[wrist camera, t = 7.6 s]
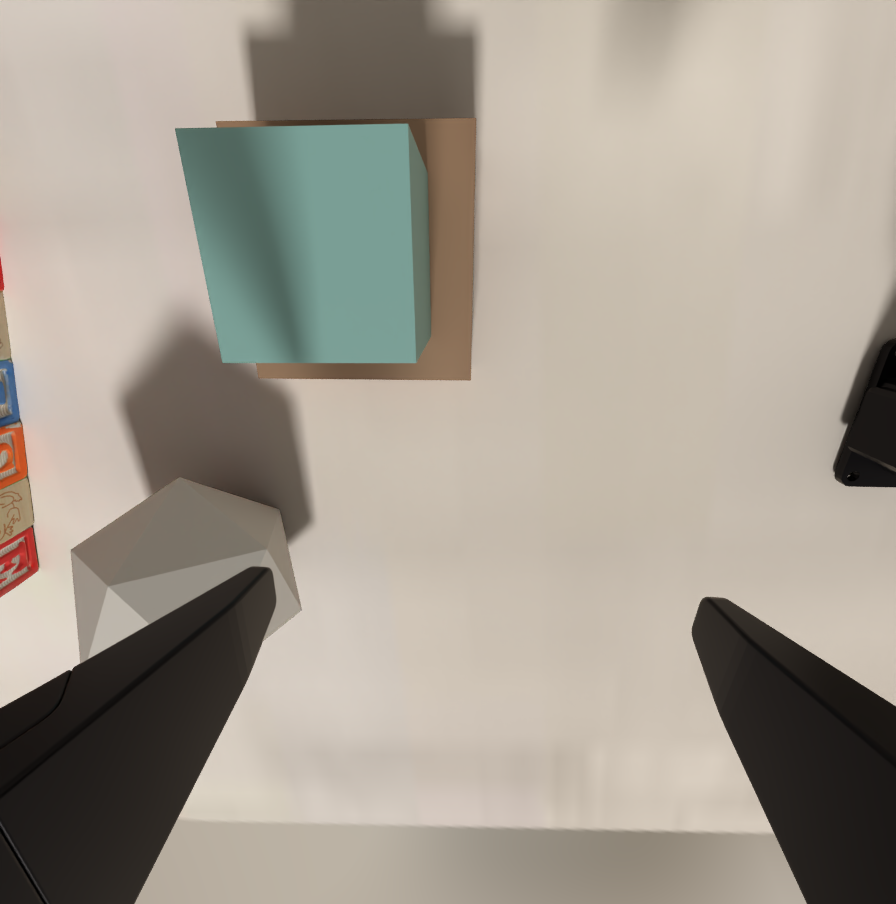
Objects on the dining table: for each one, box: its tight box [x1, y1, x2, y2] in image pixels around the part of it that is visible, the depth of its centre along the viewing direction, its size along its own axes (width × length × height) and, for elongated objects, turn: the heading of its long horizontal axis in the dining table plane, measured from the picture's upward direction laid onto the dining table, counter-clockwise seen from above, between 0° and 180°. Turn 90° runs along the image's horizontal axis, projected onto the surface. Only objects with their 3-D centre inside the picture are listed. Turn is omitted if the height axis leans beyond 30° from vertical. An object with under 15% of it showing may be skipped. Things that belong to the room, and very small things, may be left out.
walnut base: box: [216, 118, 476, 380], centre depth 16 cm, size 8×8×3 cm
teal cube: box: [175, 124, 431, 363], centre depth 13 cm, size 5×5×5 cm
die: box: [71, 477, 302, 663], centre depth 19 cm, size 8×9×10 cm
